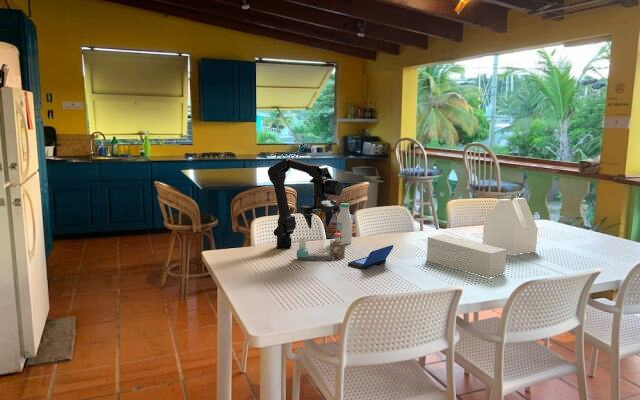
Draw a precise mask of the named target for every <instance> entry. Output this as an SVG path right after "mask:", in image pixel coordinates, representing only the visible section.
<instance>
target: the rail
mask: <svg viewBox="0 0 640 400" xmlns="http://www.w3.org/2000/svg"><path fill="white" fill-rule="evenodd" d="M297 261H335V258H334V254H330V253H308V257H297Z"/></svg>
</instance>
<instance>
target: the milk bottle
mask: <svg viewBox="0 0 640 400" xmlns="http://www.w3.org/2000/svg"><path fill="white" fill-rule="evenodd" d="M335 231H336V232H335V233H341V236H340V240H343V241H344V244H345V245H349V244H351V243H352V242H353V241H352V239H353V238H352V236H353V234H352V233H353V219H352V215H351V213H350V203H348V202H342V203H340V204H339V213H338V214H337V218H336V230H335Z"/></svg>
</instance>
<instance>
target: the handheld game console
mask: <svg viewBox="0 0 640 400" xmlns="http://www.w3.org/2000/svg"><path fill="white" fill-rule="evenodd" d="M393 248H394V245H393V244H392V245H388V246H385V247H384V246H383V247H381V248H378V249H375V250H372V251H371V252H370V253H369V254H368V256H366V257H362V258H359V259H355V260H352V261H350V262H348V263H347V265H348V266H349V267H352V268H356V269H359V270H362V271H365V270H368V269H371V268H374V267H377V266H380V265H384V264H386V263H387V258H388V257H389V255H390V253H391V252H392V251H393Z"/></svg>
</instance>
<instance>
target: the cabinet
mask: <svg viewBox="0 0 640 400" xmlns="http://www.w3.org/2000/svg"><path fill="white" fill-rule="evenodd" d="M345 247H346V244H344V241H343V240H340V243H335V239H330V247H329V254H334V259H335V258H336V259H337V258H339V259H340V258H341V259H342V258H345V253H346V252H345Z"/></svg>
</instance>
